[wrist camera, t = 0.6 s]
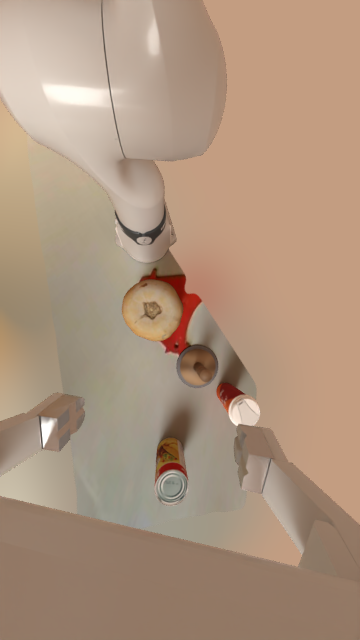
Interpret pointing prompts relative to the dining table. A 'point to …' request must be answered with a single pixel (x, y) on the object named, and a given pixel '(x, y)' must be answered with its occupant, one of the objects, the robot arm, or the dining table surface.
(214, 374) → the charcoal mat
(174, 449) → the canned food
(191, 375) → the walnut lid
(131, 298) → the butternut squash
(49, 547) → the robot arm
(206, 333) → the dining table surface
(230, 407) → the paper cup
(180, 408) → the dining table surface
